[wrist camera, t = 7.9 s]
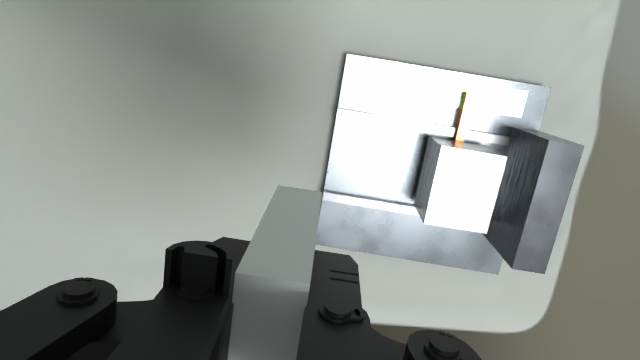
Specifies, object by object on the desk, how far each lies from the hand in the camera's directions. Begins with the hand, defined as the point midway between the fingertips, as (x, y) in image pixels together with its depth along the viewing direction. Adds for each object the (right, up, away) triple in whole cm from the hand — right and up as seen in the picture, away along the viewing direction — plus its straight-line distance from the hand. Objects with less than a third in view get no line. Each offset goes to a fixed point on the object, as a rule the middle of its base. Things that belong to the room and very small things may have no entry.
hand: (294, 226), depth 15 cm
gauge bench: (+8, +3, +18) cm, 20 cm away
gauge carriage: (+10, +4, +16) cm, 19 cm away
